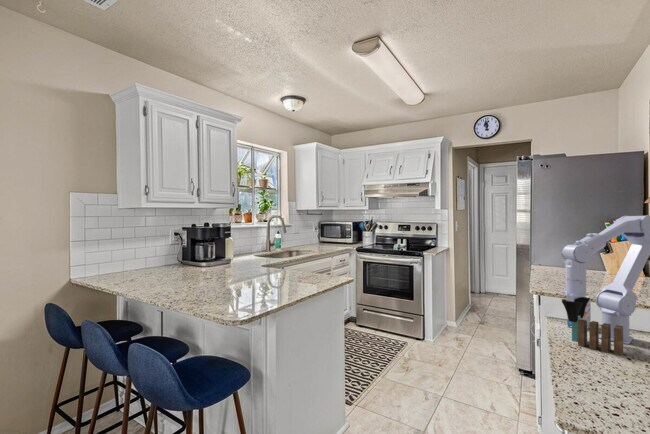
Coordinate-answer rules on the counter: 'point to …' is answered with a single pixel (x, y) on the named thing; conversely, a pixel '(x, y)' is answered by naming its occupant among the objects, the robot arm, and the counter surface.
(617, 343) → the domino
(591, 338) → the domino
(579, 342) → the domino
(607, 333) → the domino
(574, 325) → the domino
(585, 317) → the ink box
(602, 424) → the counter surface
